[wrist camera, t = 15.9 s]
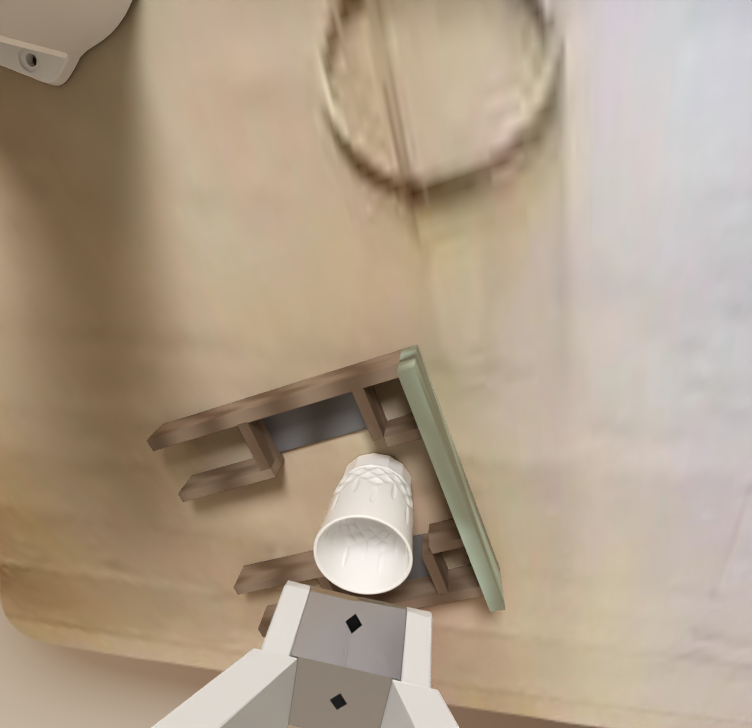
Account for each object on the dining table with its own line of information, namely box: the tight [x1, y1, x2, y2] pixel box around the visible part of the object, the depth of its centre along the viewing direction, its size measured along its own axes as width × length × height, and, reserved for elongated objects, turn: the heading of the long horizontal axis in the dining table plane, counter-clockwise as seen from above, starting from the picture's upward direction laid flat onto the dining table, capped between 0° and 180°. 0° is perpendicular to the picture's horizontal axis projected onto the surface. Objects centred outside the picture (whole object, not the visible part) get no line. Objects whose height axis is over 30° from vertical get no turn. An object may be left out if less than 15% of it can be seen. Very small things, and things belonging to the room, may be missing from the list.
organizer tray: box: [147, 345, 505, 637], centre depth 49 cm, size 26×25×5 cm
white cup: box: [313, 453, 413, 594], centre depth 46 cm, size 8×8×10 cm
